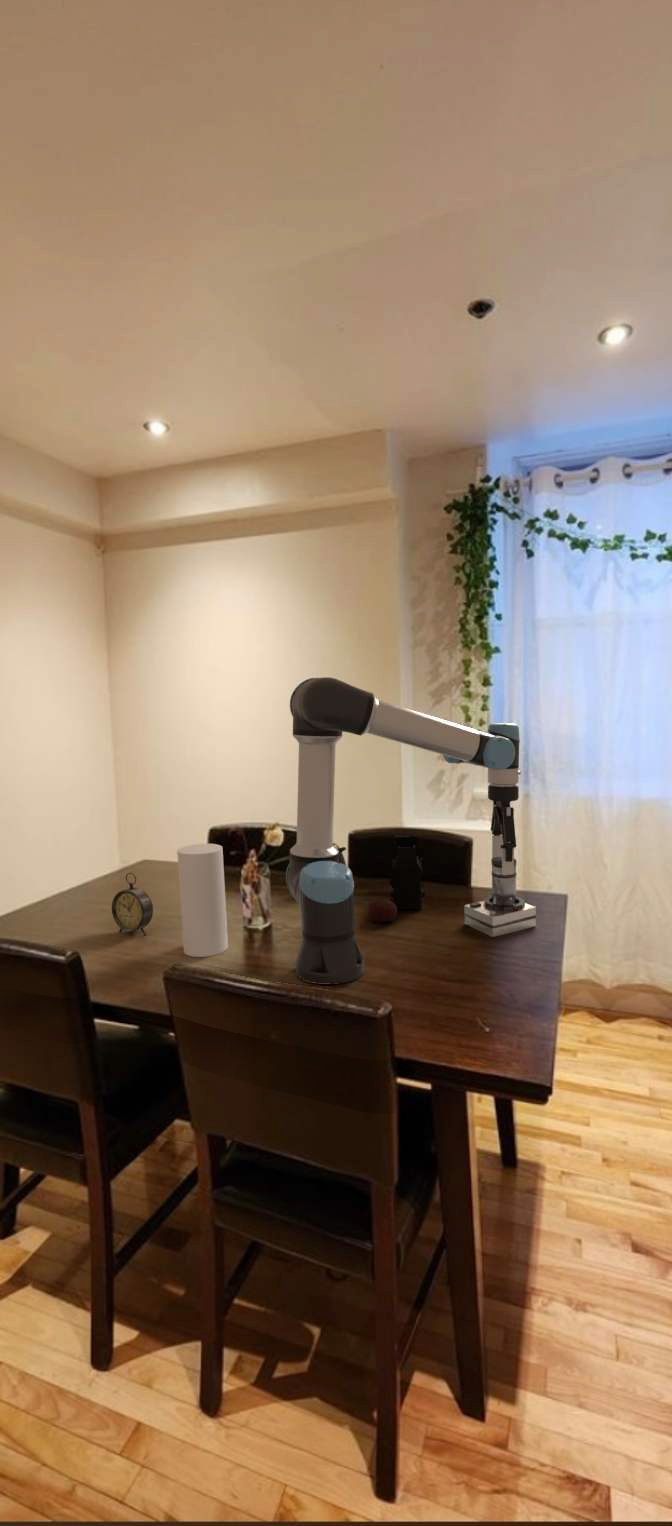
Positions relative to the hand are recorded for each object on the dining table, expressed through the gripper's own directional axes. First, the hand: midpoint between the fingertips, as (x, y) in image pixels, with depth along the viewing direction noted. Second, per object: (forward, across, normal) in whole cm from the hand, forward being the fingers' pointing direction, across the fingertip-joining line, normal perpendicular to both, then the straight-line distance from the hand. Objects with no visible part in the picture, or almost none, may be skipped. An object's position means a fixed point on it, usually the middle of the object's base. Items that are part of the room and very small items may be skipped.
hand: (502, 866), depth 172 cm
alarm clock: (+17, -1, +96) cm, 97 cm away
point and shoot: (+15, 0, +1) cm, 15 cm away
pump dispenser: (+16, +31, +46) cm, 58 cm away
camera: (+16, +19, +23) cm, 34 cm away
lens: (+10, 0, -1) cm, 10 cm away
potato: (+16, +4, +31) cm, 35 cm away
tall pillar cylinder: (+17, -13, +74) cm, 77 cm away
